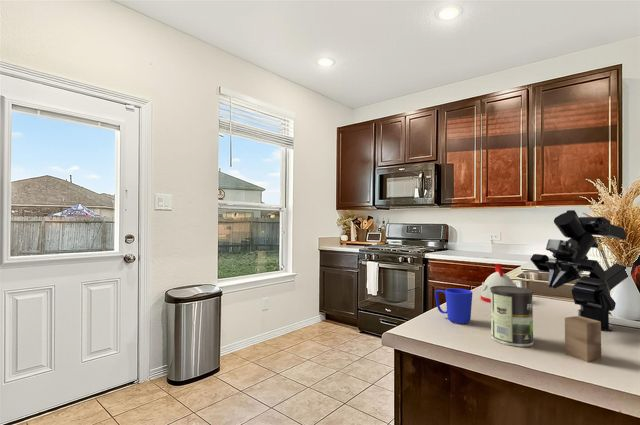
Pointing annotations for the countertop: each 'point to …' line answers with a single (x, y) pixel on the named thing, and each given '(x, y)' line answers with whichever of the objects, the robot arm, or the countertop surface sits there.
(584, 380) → the countertop surface
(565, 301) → the countertop surface
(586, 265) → the robot arm
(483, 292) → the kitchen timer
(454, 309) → the mug
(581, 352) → the walnut block
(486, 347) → the countertop surface
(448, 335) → the countertop surface
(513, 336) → the coffee can
